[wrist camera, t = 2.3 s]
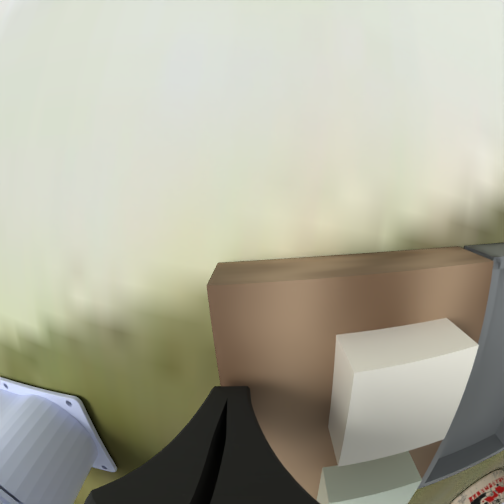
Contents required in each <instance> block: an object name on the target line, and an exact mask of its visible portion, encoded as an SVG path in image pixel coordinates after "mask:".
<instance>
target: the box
mask: <svg viewBox="0 0 504 504" xmlns="http://www.w3.org/2000/svg"><path fill="white" fill-rule="evenodd" d="M464 249H466V250H468V251H471V252H473V253H475V254H478V255H480V256H483V257H485V258H488V259H490V260H492V261H494V262H493V270H492V277H491V284H490V290H489V296H488V301H487V307H486V312H485V316H484V321H483V325H482V329H481V334H480V338H479V341H478V345H479V347H478V350H477V354H476V357H475V360H474V364H473V367H472V370H471V373H470V376H469V379H468V382H467V385H466V388H465V391H464V393H463V396H462V399H461V401H460V404H459V406H458V409H457V411H456V414H455V416H454V418H453V421H452V423H451V425H450V427H449V430H448V432H447V434H446V436H445V438H444V439H443V440H442V442H441V444H440V446H439V448H438V450H437V452H436V454H435V456H434V458H433V460H432V462H431V464H430V465H429V467H428V469H427V471H426V473H425V474H424V476H423V478H422V481H421V483H420V485H419V486H418V488H417V489H419V488H422V487H425V486H427V485H430V484H433V483H435V482H438V481H440V480H443V479H445V478H448V477H450V476H452V475H455V474H457V473H459V472H462V471H464V470H466V469H468V468H470V467H472V466H474V465H476V464H478V463H480V462H482V461H484V460H486V459H488V458H490V457H492V456H494V455H495V454H497V453H499V452H501V451H502V450H504V243H494V244H482V245H470V246H464Z"/></svg>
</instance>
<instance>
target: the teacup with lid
mask: <svg viewBox="0 0 504 504" xmlns="http://www.w3.org/2000/svg"><path fill="white" fill-rule="evenodd" d="M503 502H504V471H503V470H496V471H493V472H491V473H489V474H488V475H486V476H484V477H482V478H481V479H479V480H478V481H476V482H475V483H474V484H472V485H471V486H469V487H468V488H467V489H466V490H464V491H463V492H462V493H461V494H460V495H458V496H457V497H456V498H455V499H454V500H453V501H452V502H451V504H502V503H503Z"/></svg>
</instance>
